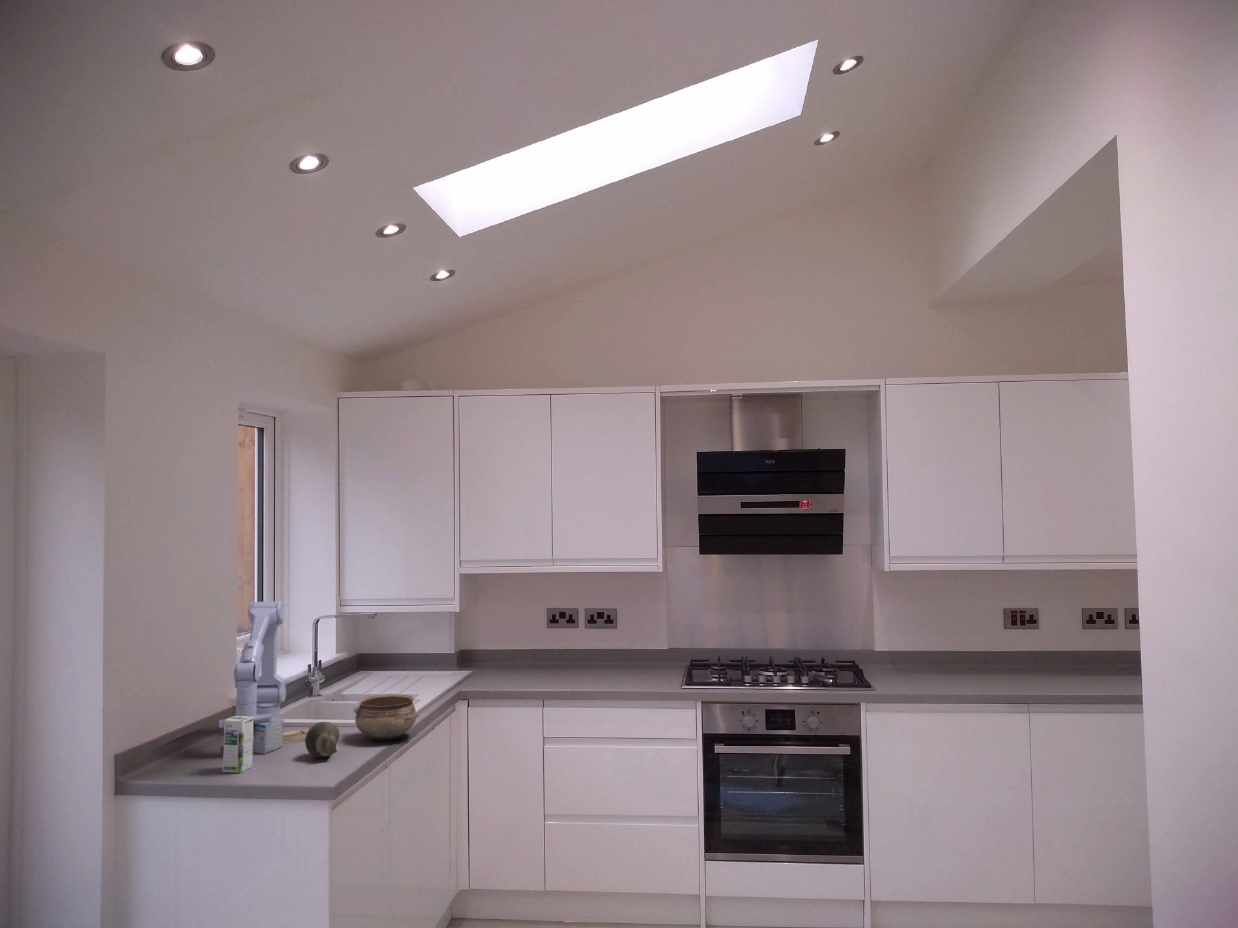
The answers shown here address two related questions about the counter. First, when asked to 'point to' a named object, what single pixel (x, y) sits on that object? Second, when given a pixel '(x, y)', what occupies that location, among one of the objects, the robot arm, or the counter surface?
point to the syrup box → (238, 744)
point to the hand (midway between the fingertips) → (245, 748)
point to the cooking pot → (385, 716)
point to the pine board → (291, 736)
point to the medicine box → (268, 736)
